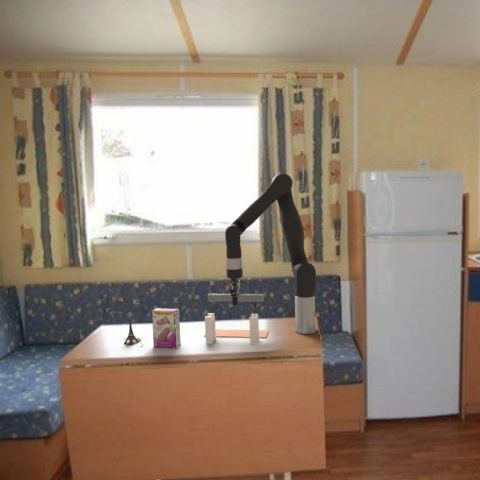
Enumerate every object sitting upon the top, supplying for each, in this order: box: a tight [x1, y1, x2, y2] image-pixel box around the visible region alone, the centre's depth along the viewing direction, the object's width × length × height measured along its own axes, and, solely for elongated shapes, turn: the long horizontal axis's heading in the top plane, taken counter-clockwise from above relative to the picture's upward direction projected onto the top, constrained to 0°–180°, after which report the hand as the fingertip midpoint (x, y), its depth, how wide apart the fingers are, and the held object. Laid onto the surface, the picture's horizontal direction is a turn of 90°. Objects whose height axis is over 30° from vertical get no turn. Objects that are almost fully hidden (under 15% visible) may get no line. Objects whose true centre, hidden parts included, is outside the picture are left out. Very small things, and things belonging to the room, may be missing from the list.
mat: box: [203, 328, 269, 339], centre depth 193 cm, size 29×10×1 cm, turn 80°
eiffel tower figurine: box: [123, 317, 143, 348], centre depth 185 cm, size 15×10×13 cm
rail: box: [207, 293, 264, 303], centre depth 191 cm, size 26×3×3 cm, turn 80°
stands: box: [204, 312, 260, 346], centre depth 182 cm, size 23×6×12 cm, turn 80°
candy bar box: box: [151, 307, 182, 349], centre depth 180 cm, size 11×5×16 cm, turn 74°
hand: (235, 303), depth 192 cm, fingers closed on rail, 3 cm apart
